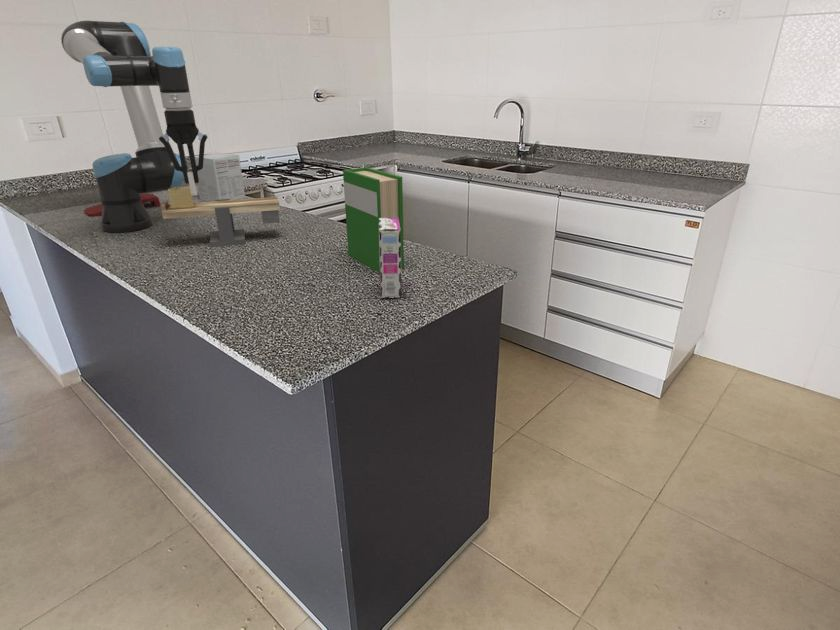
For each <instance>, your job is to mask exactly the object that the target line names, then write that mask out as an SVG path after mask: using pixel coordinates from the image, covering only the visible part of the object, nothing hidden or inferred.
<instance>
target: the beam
mask: <svg viewBox="0 0 840 630" xmlns="http://www.w3.org/2000/svg"><path fill="white" fill-rule="evenodd" d="M194 203H195V207H194V208H191V209H177V210H172V209H171V205H170V203H169V201H168V200H163V201H162V203H161V206H160V207H161V215H162V219H163V220H164V219H165V220H166V219H178V218H190V217H191V218H193V217H206V216H216V214H215V208H216V207H229V209H230V214H232V215H233V214H244V213H245V214H246V213H247V214H248V213H258V212H261V218H262V224H263V225H266V224H275V223H280V214H279V213H280V212H279V210H281V207H280V202H279V197H278V196H271V197H260V198H259V197H258V198H257V197H256V198H241V199H237V200H226V201H212V202H210V201H201V202H199V201H198V202H194Z"/></svg>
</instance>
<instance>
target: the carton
mask: <svg viewBox="0 0 840 630" xmlns="http://www.w3.org/2000/svg"><path fill="white" fill-rule="evenodd" d="M140 197H141V202H142V204H143V205H144V204H147V203H149V204H151V205H152V206H154V207H155V208H159V207H161V205H162V203H161V202H160V199H159V197H158V196H156V195H155V194H154V193H151V192H148V193H141V194H140ZM102 208H103V206H102V203H99V204H97V205H92V206H90V207H86V208H85V209H83V212H84V213H85V215H86V216H87V217H91V218H95V217H102Z"/></svg>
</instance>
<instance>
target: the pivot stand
mask: <svg viewBox="0 0 840 630" xmlns="http://www.w3.org/2000/svg"><path fill="white" fill-rule="evenodd" d="M226 200H230V199H218V200H216V201H226ZM215 214H216V215H215V218H216V224H217V230H215V231H211V232H210V233H211V234H210V240H209V246H210V248H213V247H214V248H215V247H226V246H227V245H228V246H238V245H239V246H240V245H246V231H245V228H237V229H235V223H234V217H233V214H230V209H229V207H216V208H215Z"/></svg>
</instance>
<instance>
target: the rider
mask: <svg viewBox="0 0 840 630" xmlns="http://www.w3.org/2000/svg"><path fill="white" fill-rule="evenodd" d="M167 195H168V199H169V204H170V205H171V209H172V210H177V209H191V208H194V207H195V203H196V202H195V200H194V195H191V190H190V185H186V186H181V187H169V189H168V190H167Z"/></svg>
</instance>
